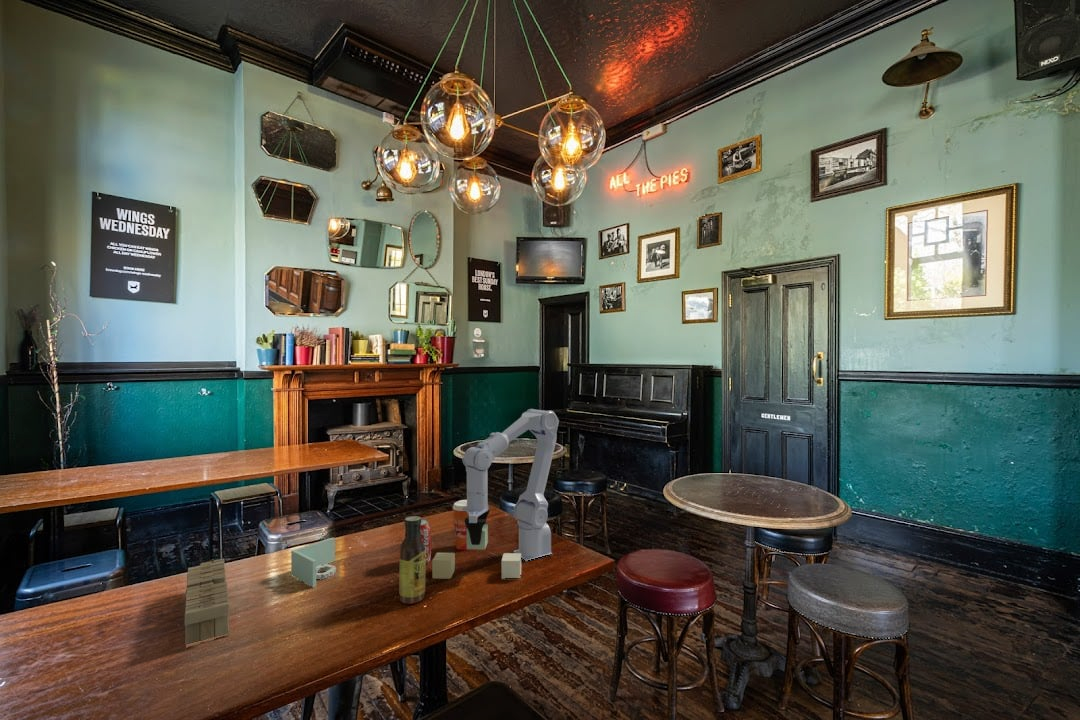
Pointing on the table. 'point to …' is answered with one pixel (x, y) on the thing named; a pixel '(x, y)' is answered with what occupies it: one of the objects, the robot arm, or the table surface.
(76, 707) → the table surface
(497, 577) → the table surface
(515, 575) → the cream block
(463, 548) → the paper cup
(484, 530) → the sage green block
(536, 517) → the robot arm
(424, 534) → the soda can
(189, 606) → the block tower
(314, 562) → the right angle wall
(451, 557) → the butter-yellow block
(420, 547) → the sauce bottle
